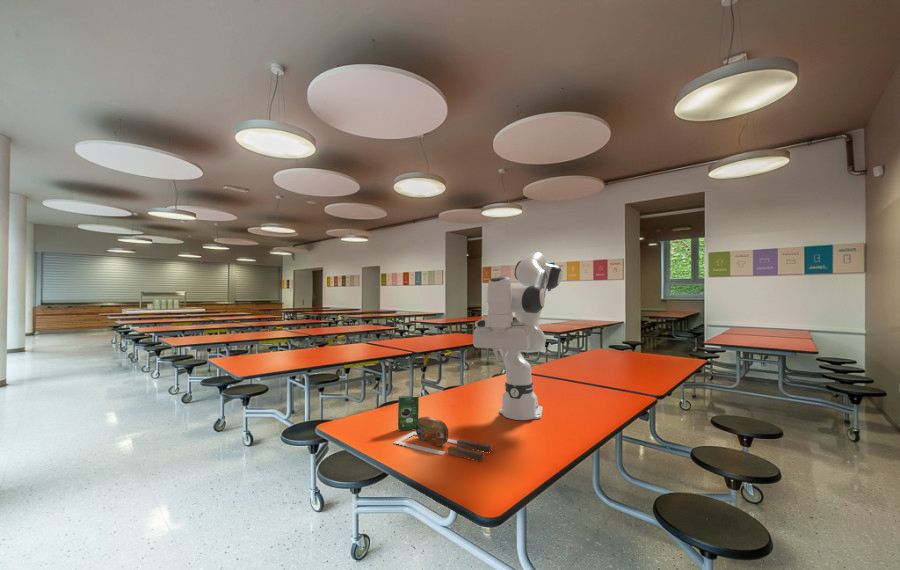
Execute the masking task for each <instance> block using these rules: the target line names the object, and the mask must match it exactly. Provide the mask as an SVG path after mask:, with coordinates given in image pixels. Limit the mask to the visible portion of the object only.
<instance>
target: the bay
mask: <svg viewBox="0 0 900 570" xmlns="http://www.w3.org/2000/svg"><path fill="white" fill-rule="evenodd" d="M413 435H414V436H415V435H417V433H416V431H411V432H409V433H408V434H406V435H404V436H402V437H400V438H399V439H396V441H394V442H393V443H394V444H393V445H396V444H399V445H398V446H400V445H402V446H401V447H404V446H406V447H405V448H409V447H410V448H409V449H413V450H416V451H417V450H418V451H422V452H425V453H430V454H435V455H439V456H444V455H445V454H447V453H446V451H444V450H439V449H435V448H430V447H427V446H426V447H425V446H421V445H417V444H413V443H408V442H405V441H406V439H407V440H409V439H410V438H411V436H412V437H414V436H413ZM409 437H410V438H409ZM408 438H409V439H408ZM404 440H405V441H404ZM402 441H403V442H402ZM446 443H450V444H454V445H457V440H456V439H451V438H448V440H447V442H446Z"/></svg>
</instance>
